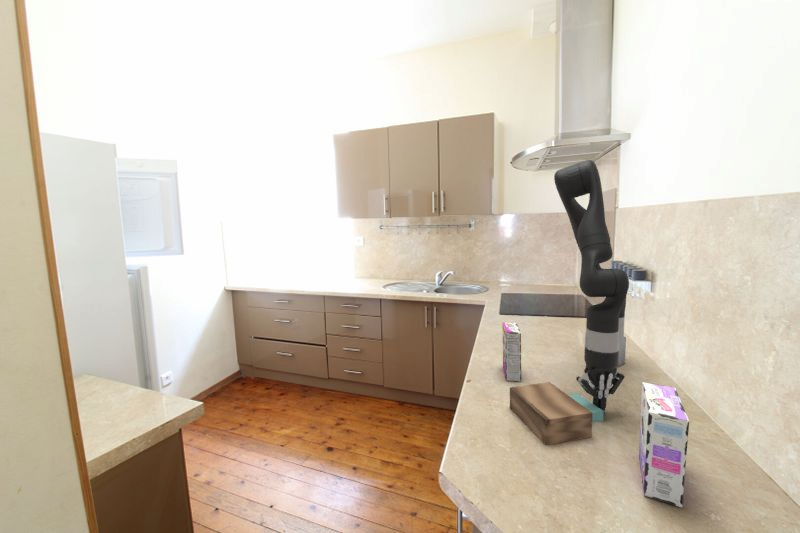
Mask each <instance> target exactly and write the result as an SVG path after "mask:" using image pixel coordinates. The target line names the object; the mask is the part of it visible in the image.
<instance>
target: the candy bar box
mask: <svg viewBox="0 0 800 533" xmlns="http://www.w3.org/2000/svg"><path fill="white" fill-rule="evenodd" d="M501 325H502V327H501V328H502V369H503V373H504V377H505V381H506V382H519V383H521V382H522V332H521V330H520V328H519V326H518V323H517V322H510V321H509V322H505V321H504V322H502V324H501Z"/></svg>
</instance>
